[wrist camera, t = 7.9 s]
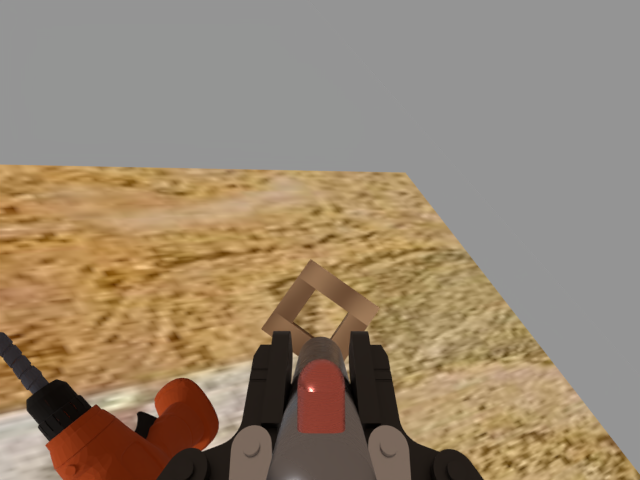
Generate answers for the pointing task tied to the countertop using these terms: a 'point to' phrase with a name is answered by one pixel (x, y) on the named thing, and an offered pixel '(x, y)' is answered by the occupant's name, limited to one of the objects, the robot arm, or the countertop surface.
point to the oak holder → (336, 291)
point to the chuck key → (320, 422)
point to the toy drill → (112, 426)
